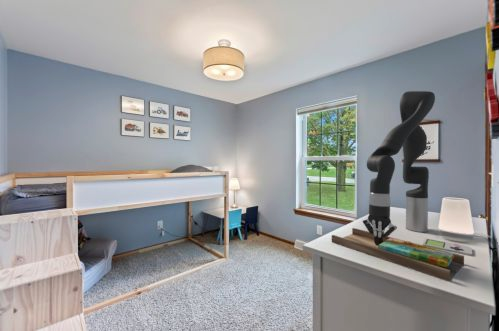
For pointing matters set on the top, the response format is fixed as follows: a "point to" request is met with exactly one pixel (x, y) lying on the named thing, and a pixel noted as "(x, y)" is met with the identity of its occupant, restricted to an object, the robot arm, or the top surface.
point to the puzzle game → (417, 252)
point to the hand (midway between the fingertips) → (378, 245)
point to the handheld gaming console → (448, 246)
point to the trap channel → (366, 244)
